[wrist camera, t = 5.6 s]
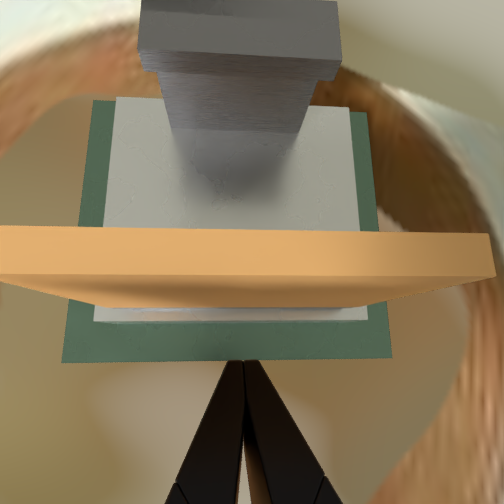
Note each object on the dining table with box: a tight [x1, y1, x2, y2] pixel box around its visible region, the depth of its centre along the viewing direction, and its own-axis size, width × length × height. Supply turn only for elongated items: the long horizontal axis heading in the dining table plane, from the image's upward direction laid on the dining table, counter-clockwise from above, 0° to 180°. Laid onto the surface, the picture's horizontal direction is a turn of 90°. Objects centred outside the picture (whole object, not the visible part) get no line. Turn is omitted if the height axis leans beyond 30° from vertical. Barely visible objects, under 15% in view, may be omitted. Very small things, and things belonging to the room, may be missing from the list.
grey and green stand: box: [62, 0, 392, 363], centre depth 16 cm, size 16×18×11 cm
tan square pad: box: [0, 226, 497, 309], centre depth 12 cm, size 1×11×9 cm, turn 91°
